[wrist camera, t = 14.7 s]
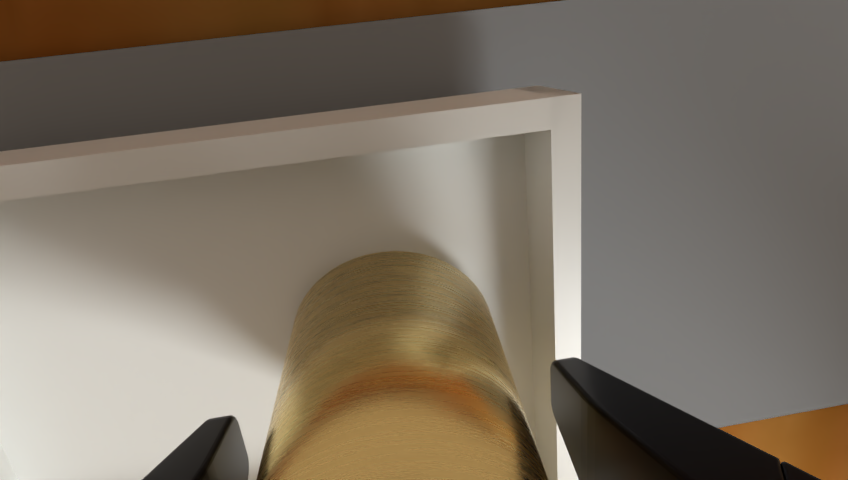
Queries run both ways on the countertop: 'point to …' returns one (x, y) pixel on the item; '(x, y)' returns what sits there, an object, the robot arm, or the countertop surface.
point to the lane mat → (600, 161)
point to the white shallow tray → (266, 264)
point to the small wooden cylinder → (397, 381)
